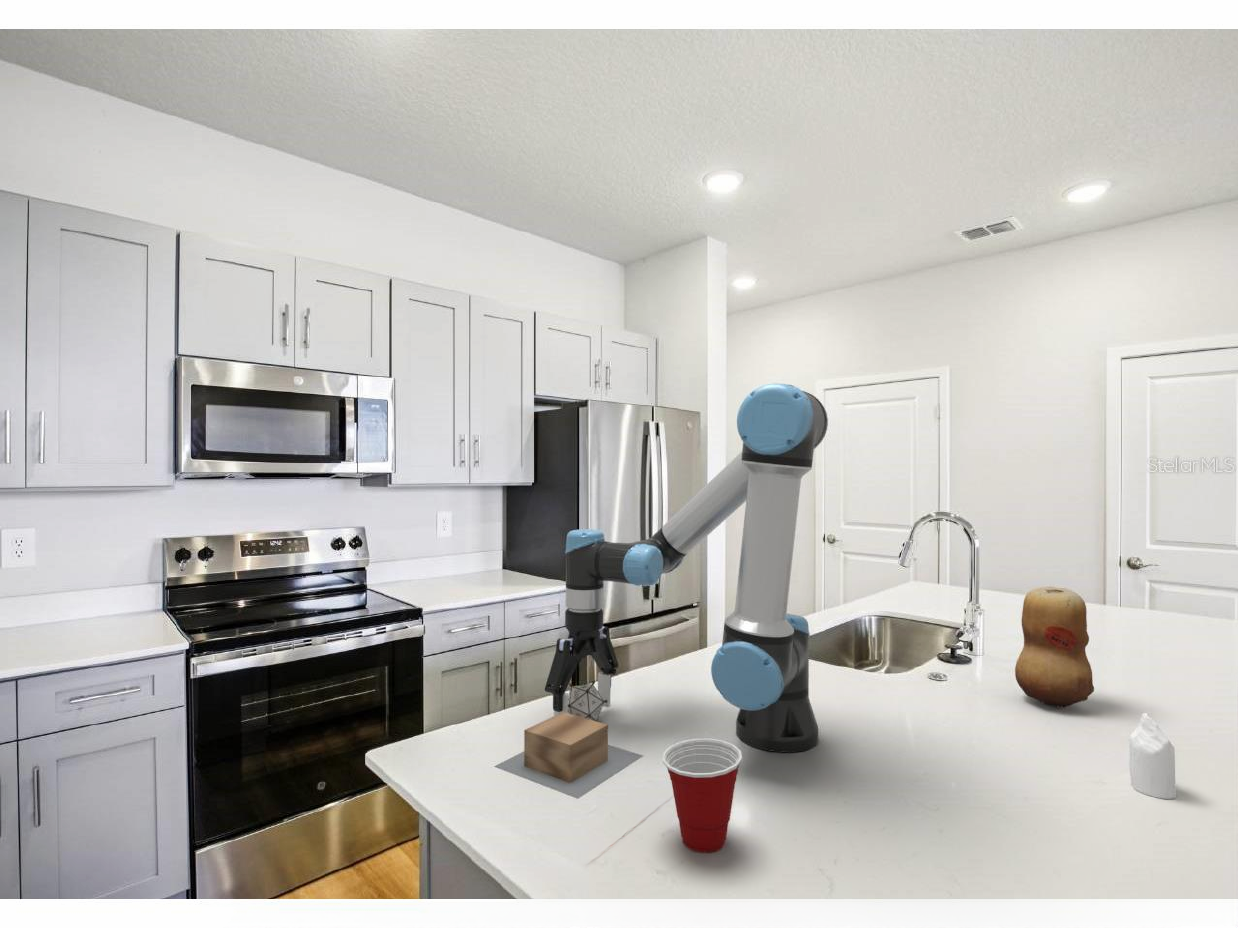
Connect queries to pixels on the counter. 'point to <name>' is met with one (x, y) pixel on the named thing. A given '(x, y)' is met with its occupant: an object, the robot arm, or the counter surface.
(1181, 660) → the counter surface
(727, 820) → the plastic cup
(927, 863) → the counter surface
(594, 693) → the game die
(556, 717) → the walnut block
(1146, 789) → the white pouch
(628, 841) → the counter surface
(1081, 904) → the counter surface
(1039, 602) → the butternut squash
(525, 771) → the build mat
